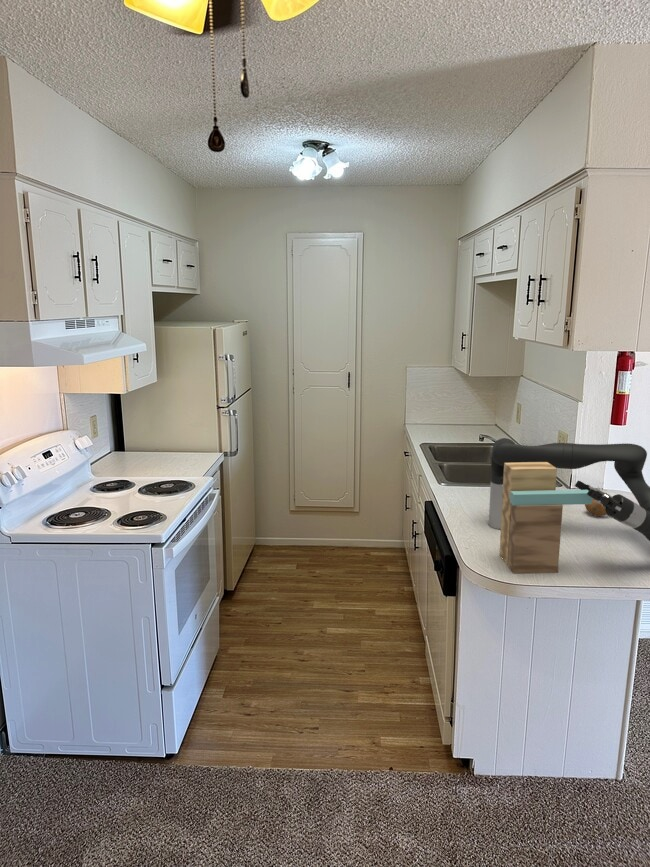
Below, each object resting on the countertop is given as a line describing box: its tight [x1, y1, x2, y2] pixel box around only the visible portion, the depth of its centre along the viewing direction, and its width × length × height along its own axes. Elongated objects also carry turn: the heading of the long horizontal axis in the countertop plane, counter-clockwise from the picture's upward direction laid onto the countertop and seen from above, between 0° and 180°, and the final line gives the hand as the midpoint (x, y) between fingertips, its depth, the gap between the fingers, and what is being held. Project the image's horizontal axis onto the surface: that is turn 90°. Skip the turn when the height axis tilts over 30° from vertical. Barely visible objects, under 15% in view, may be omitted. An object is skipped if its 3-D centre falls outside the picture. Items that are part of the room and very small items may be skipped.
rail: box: [510, 489, 592, 506], centre depth 183 cm, size 4×24×4 cm, turn 91°
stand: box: [499, 462, 558, 566], centre depth 192 cm, size 8×14×32 cm, turn 91°
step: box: [507, 505, 564, 574], centre depth 186 cm, size 5×14×22 cm, turn 91°
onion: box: [584, 499, 607, 517], centre depth 234 cm, size 10×10×10 cm
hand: (582, 487), depth 183 cm, fingers open, 8 cm apart
